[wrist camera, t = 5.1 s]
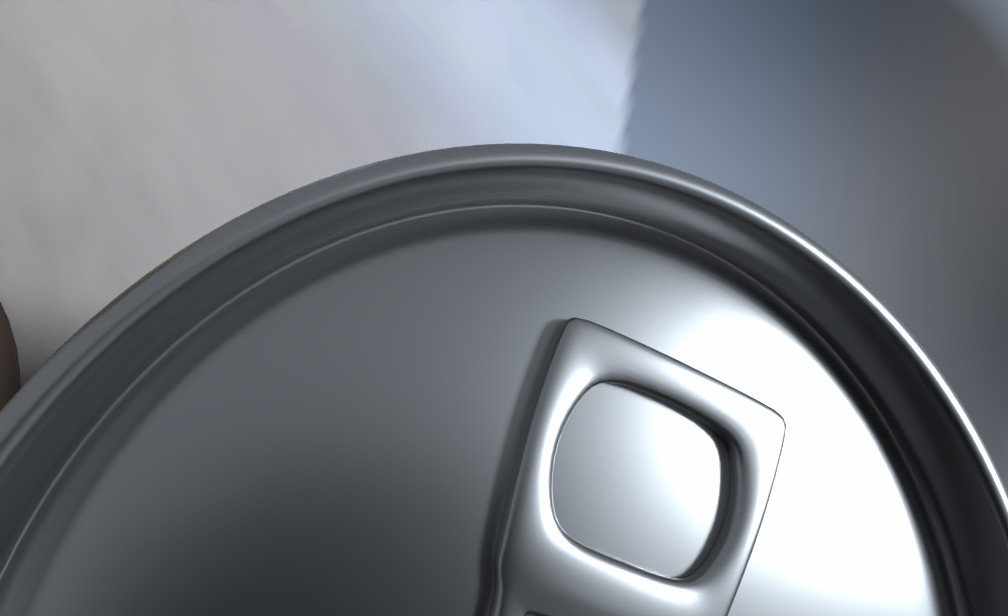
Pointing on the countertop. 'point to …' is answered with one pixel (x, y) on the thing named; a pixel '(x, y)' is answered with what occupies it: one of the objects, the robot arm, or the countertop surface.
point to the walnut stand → (7, 362)
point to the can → (498, 415)
